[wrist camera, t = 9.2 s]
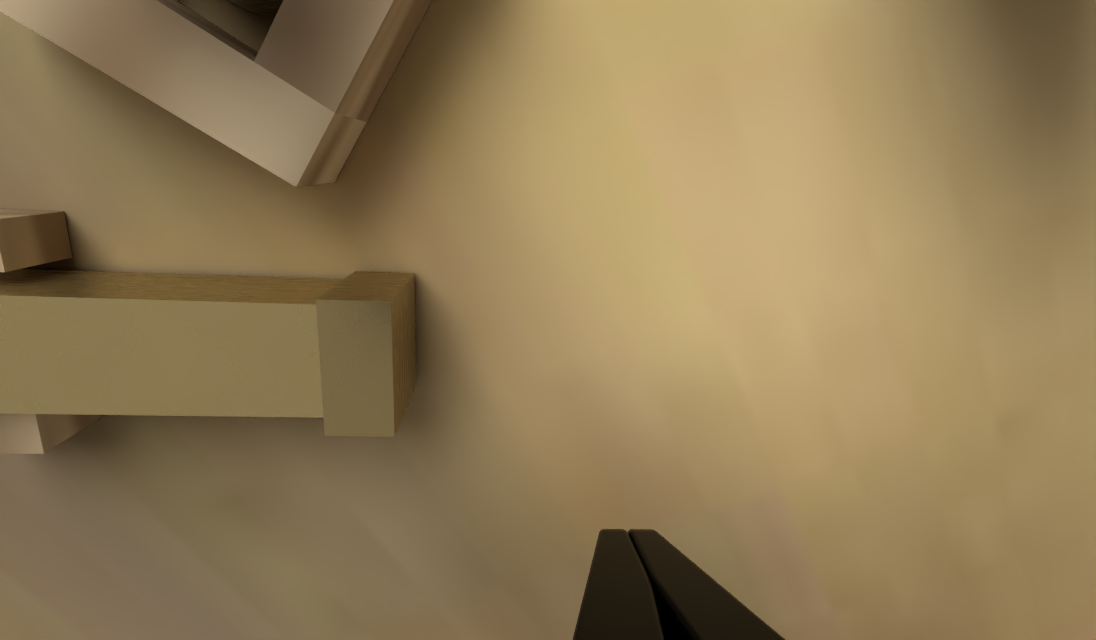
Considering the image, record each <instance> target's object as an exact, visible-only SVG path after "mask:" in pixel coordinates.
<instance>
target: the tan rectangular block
mask: <svg viewBox="0 0 1096 640" xmlns="http://www.w3.org/2000/svg"><path fill="white" fill-rule="evenodd" d="M415 386H416V335H415V273H395V272H366V271H355V272H353V273H352V274H350V275H349V276H348V277H346V278H345V279H317V278H287V277H256V276H225V275H195V274H164V273H133V272H103V271H72V270H41V269H17V270H13V271H8V272H0V413H2V414H79V415H156V416H233V417H311V418H324V434H325V436H351V437H395V435H396V432H397V430H398V427H399V425H400V423H401V420H402V418H403V415H404V413H405V410H406V408H407V405H408V403H409V400H410V398H411V396H412V393H413V391H414V388H415Z"/></svg>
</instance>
